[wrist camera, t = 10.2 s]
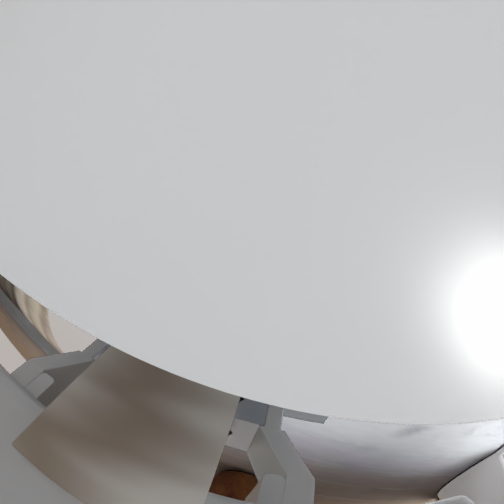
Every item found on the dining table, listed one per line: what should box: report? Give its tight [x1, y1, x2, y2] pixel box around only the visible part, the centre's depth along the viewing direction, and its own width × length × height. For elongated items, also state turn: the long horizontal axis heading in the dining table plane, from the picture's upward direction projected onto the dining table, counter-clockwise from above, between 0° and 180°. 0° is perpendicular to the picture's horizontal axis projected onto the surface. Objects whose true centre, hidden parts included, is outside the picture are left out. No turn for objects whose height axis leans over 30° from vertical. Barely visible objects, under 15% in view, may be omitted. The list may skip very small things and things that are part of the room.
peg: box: [12, 346, 240, 504], centre depth 9 cm, size 4×4×12 cm
